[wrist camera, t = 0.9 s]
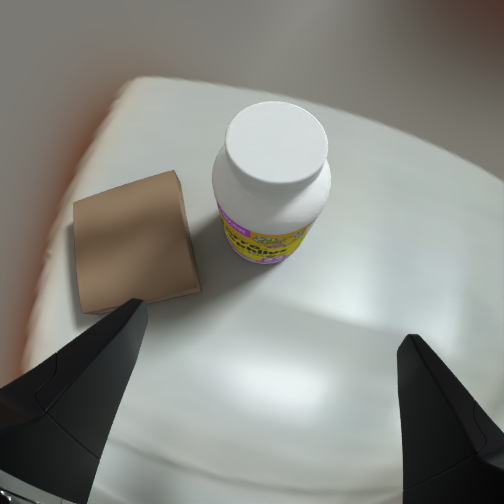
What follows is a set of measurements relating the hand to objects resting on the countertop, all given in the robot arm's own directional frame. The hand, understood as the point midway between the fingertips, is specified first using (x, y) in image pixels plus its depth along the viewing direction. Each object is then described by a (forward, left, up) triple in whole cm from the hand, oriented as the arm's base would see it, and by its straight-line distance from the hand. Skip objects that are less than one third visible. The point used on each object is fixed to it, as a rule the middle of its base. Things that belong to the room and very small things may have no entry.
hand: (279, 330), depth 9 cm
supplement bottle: (+6, +5, -14) cm, 17 cm away
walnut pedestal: (-2, +13, -14) cm, 19 cm away
